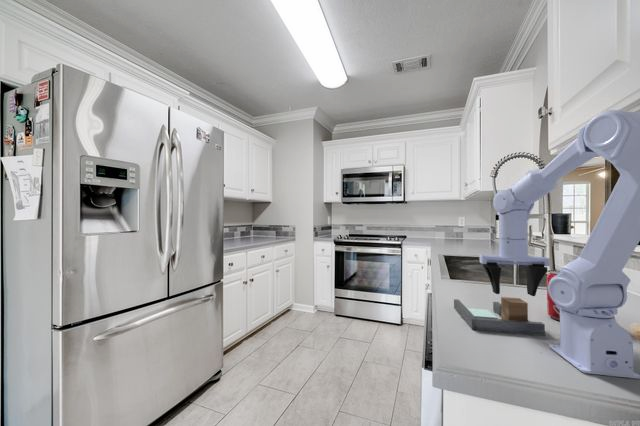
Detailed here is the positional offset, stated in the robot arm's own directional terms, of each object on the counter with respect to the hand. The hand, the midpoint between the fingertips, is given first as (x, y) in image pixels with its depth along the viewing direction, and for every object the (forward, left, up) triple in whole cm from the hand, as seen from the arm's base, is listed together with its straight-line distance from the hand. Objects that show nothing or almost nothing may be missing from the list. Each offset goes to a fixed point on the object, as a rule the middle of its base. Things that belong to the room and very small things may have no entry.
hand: (513, 293), depth 66 cm
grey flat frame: (+2, +4, -7) cm, 9 cm away
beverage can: (+6, -14, -8) cm, 17 cm away
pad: (+6, +5, -7) cm, 11 cm away
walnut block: (0, 0, -8) cm, 8 cm away
